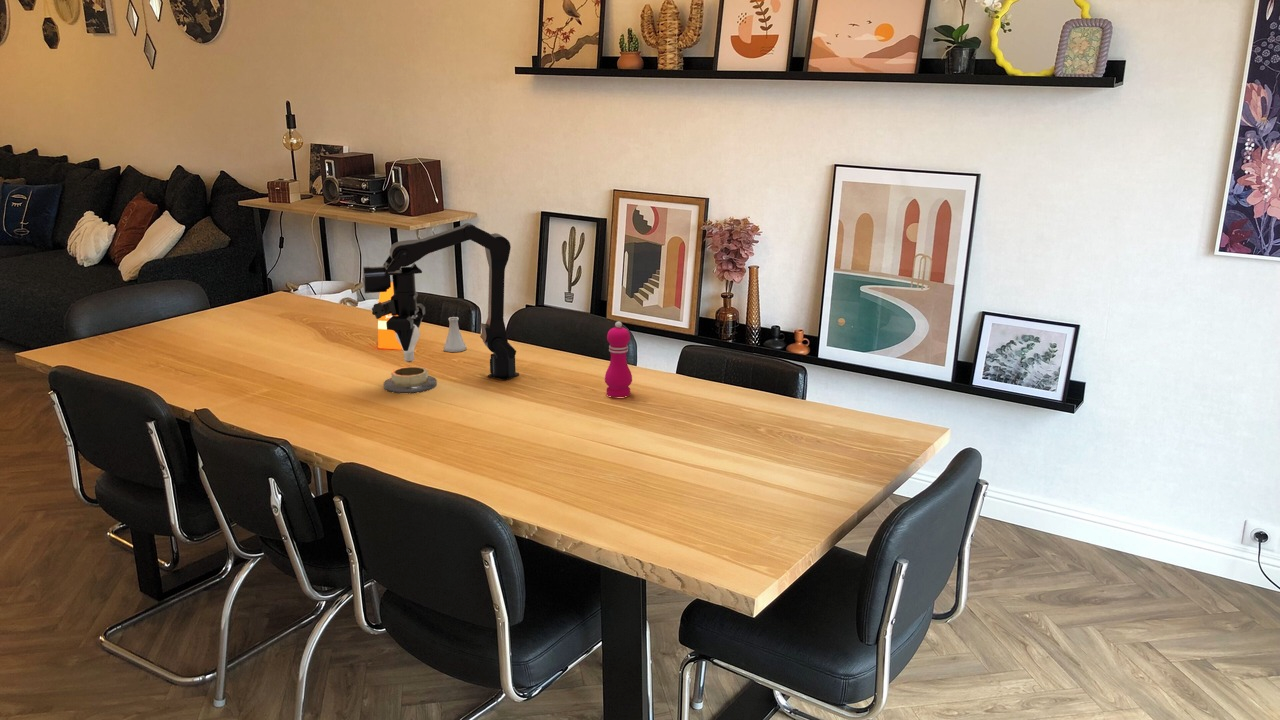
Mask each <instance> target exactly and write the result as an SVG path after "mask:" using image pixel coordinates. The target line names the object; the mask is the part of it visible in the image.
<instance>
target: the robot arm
mask: <svg viewBox="0 0 1280 720" xmlns="http://www.w3.org/2000/svg"><path fill="white" fill-rule="evenodd" d="M466 241H472V242H474V243H476V244H478V245H480V246H482V247H484V250H485V256H486V261H487V263H488V264H487V265H488V267H489V268H488V298H487V299H488V304H487V306H488V307H487V319H486V322H485V323H483V322H482V323H480V329H481V334H480V336H479V338H480V339H481V340H482V343H483V344H484V345H485V346H486V347H487V349H488V350H489V351H490V352H491V354H490V359H489V374H487V378H491V379H496V380H501V381H508V380H510V379H512V378H515V377H517V376H520V373H519V372H518V371H517V372H516V355H517V350H516V349H515V348H514V346H512V344H510V342H509V340H508V333H507V330H506V329H507V328H506V325H505V320H504V316H505V315H504V313H505V312H504V311H505V310H504V308H505V307H504V306H505V303H504V302H505V277H506V276H505V272H506V268H507V264H508V262H509V258H510V254H511V243H510V241H509V240H508V239H507V238H506V237H505V236H503V235H502V234H499V233H489V232H487V231H485V230H483V229H481V228H479V227H477V226H475V225H474V224H473V223H469V222H465V223H463V224H462V225H460V226H457V227H454V228H450V229H448V230H445V231H441V232H439V233H436V234H432V235H430V236H427V237H424V238H417V239H407V240H401V241H396V242H394V243H393V244H391V246H390V249H389V255H388V257H387V258H386V260H384V262H383V264H382V266H363V267H362V270H363V271H362V287H363V293H364V294H372V293H373V294H374V293H380V292H387V289H389V288H391V282H393V293H394V295H392V297H391V300H388V301H385V302H382V303H381V302H379V303H378V302H377V303H374V304H373V305H372V306H373V307H372V308H371V311H372V315H373V316H375V319H376V320H378V319H379V318H381V317H383V316H385V315H388V314H391V316H392V317H391V318H390V319H389V320H388V321H387V322H386V326H387V330H393V331H395V332H396V333H397V335H398V337H399V339H400V342H401V345H402V348H403V350H404V351H408V349H409V346H410V342H411V339H412V335H413V332H414V328H415V326H413V323H414V324H415V325H416V326H417V327H418V329H419V330H420V326H421V323H422V320H423V319H424V317H423V316H424V315H425V314H426V306H424V304H422V303H418V302H417V297H418V296H419V294H418V292H417V291H416V289H417V288H416V279H415V278H416V276H415V275H416V274H422V273H423V271H422V269H421V268H420V267H418V266H417V264H416V262H418V261H420V260H421V259H422V258H424V257H426V256H427V255H430V254H431V253H434V252H437V251H439V250H440V251H441V250H443V249H446V248H449V247H451V246H455V245H458V244H460V243H464V242H466ZM391 276H392V277H391ZM391 279H392V280H391ZM418 314H420V316H419V315H418ZM396 315H398V316H396ZM403 350H402V351H403Z"/></svg>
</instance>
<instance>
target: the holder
mask: <svg viewBox="0 0 1280 720" xmlns="http://www.w3.org/2000/svg"><path fill="white" fill-rule="evenodd" d="M428 371H429V370H428V369H427V368H426V367H421V366H410V365H409V366H402V367H398V368H396V369H393V370H392V371H391V372H390V374H391V377H390V378H387V379H386V380H385V381H384V382H383V389H384V390H385V391H386V390H387V392H390V393H392V392H393V393H394V394H400V393H408V394H409V393H410V394H418V393H417V392H419V393H424V392H427V390H428V391H430V389H431V390H433V389H435V388H436V387H437V385H438V384H437V383H438V382H437V381H438V380H437V378H436V377H434V376H433V375H432V376H431V375H429V373H428ZM432 388H433V389H432ZM423 391H424V392H423ZM408 394H407V395H408Z"/></svg>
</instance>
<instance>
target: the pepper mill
mask: <svg viewBox="0 0 1280 720" xmlns="http://www.w3.org/2000/svg"><path fill="white" fill-rule="evenodd" d="M606 339H607V342H608V343H609V345H608V348H609V349H608V352H610V362H609V365H608V367H607V370H606V371H605V375H604V383H605V384H606V385H607V387H606V396H607V395H608V396H611V397H625V396H628V395H630V396H631V387H630V385H631V384H632V382H633V374H632V372H631V370H630V368H629V365H628V362H627V353H628V351H629V345H628V343H630V340H631V334H630V332H629V330H628V329H627V328H625V327H623V323H622V322H621V321H616V322H615V324H614V327H612V328H610V329H609V330H608V332H607V335H606ZM608 396H607V397H608ZM611 397H610V398H611Z"/></svg>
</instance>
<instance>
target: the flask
mask: <svg viewBox="0 0 1280 720" xmlns="http://www.w3.org/2000/svg"><path fill="white" fill-rule="evenodd" d="M448 321H449V324H448V325H449V327H448V332H447V335H446V338H445V342H444V346H443V352H449V353H456V352H457V353H460V352H463V351H465V350H467V346H466V343H465V342H464V339H463V336H462V333H461V331H460V328H459V317H458V316H452V317H451V316H450V317H448Z"/></svg>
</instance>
